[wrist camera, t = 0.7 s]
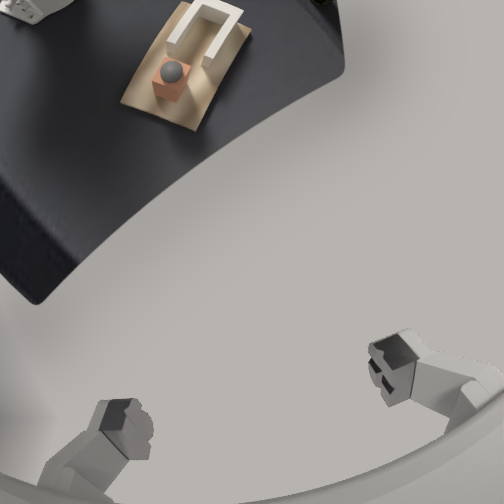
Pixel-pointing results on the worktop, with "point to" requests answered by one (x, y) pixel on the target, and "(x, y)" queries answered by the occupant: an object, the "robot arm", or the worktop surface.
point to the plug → (170, 79)
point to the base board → (200, 77)
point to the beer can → (322, 2)
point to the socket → (211, 10)
